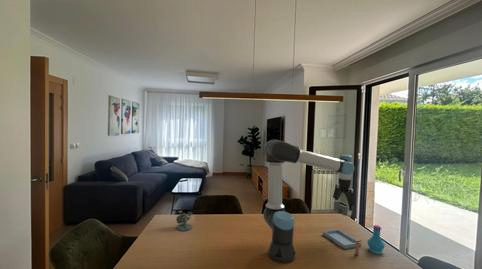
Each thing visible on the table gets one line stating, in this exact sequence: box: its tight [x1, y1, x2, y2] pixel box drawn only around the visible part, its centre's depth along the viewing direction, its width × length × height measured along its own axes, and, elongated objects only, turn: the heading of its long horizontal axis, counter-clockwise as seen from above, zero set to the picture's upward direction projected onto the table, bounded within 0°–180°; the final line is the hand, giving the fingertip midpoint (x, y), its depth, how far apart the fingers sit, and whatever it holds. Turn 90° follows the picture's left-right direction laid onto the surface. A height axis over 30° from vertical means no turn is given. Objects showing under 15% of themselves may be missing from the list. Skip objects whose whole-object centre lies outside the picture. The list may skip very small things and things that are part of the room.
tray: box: [322, 228, 362, 250], centre depth 159 cm, size 13×20×2 cm, turn 20°
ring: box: [333, 201, 354, 217], centre depth 158 cm, size 10×8×6 cm
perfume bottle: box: [367, 224, 385, 254], centre depth 147 cm, size 9×9×15 cm
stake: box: [354, 239, 362, 256], centre depth 142 cm, size 4×2×9 cm, turn 110°
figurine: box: [175, 210, 193, 232], centre depth 167 cm, size 11×11×12 cm
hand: (342, 212), depth 158 cm, fingers closed on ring, 10 cm apart
